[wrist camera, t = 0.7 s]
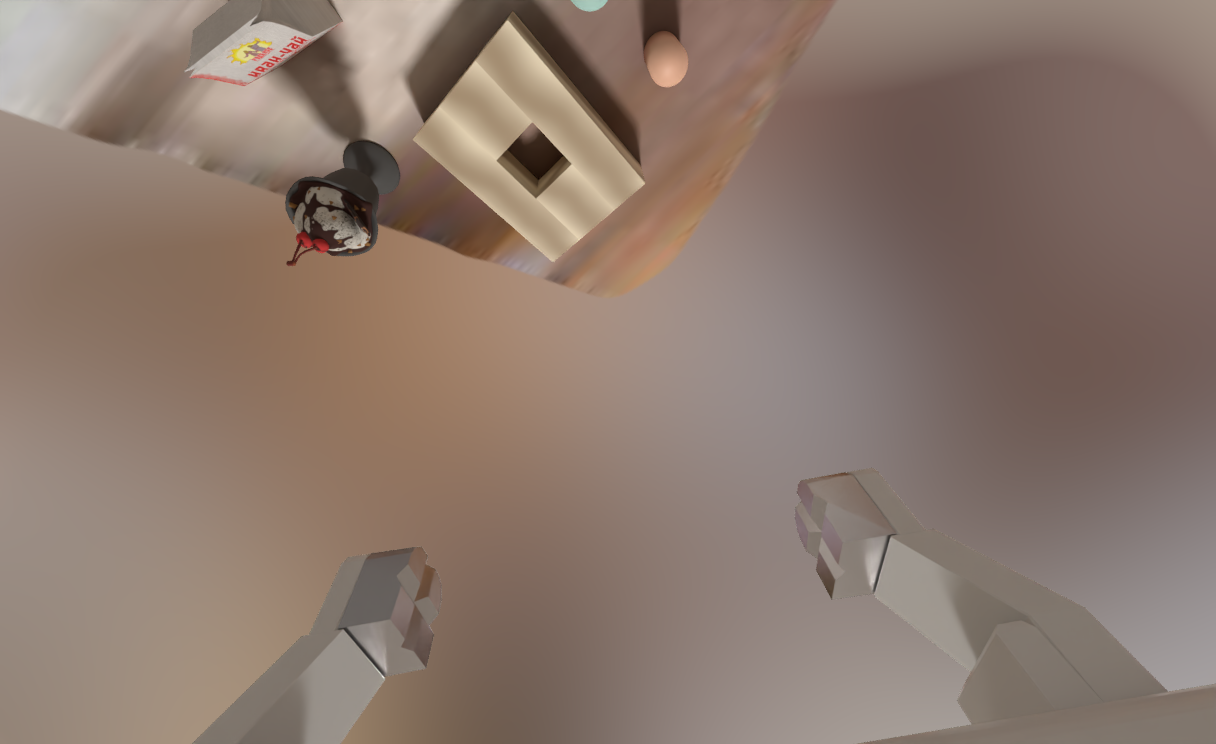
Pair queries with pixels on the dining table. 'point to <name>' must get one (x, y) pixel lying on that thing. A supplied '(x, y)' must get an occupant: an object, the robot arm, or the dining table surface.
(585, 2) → the long dowel
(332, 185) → the sundae
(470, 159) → the hole block
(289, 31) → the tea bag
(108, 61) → the dining table surface
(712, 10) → the dining table surface
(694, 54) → the dining table surface
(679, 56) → the short dowel
